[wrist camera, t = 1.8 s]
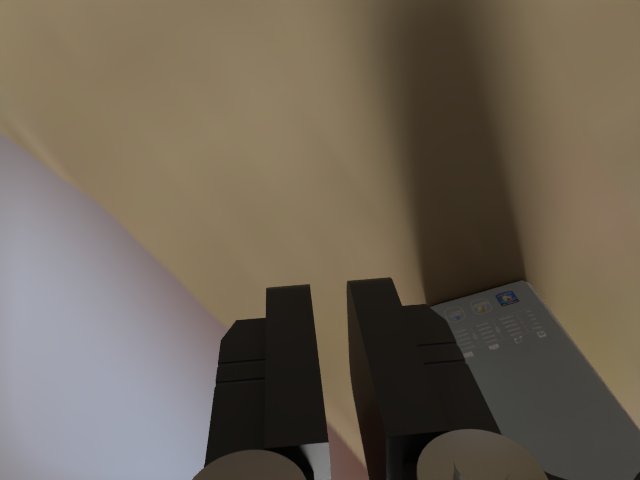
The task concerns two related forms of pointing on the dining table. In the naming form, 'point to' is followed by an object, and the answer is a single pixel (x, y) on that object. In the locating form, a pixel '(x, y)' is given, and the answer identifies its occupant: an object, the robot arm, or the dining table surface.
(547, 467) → the hard drive box
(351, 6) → the dining table surface
